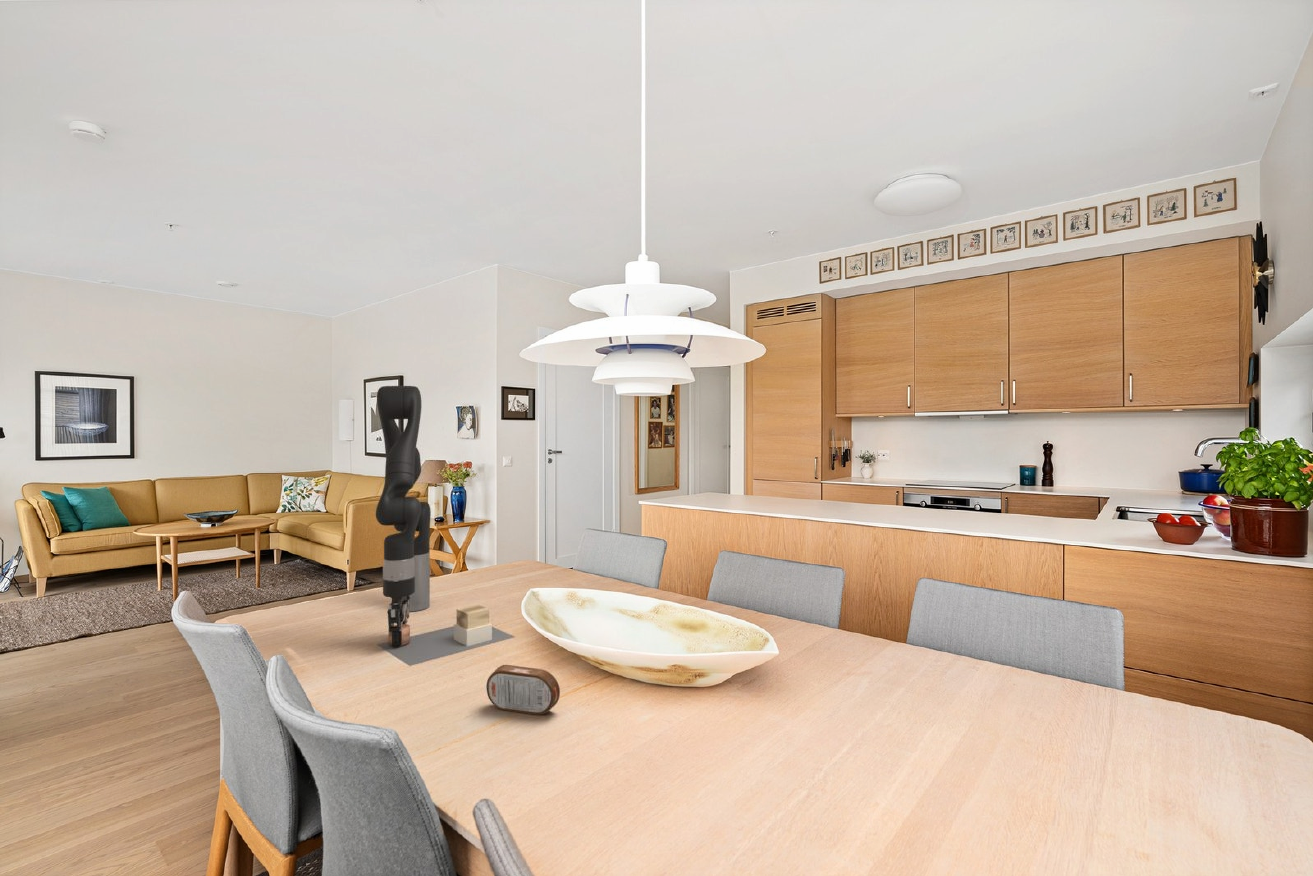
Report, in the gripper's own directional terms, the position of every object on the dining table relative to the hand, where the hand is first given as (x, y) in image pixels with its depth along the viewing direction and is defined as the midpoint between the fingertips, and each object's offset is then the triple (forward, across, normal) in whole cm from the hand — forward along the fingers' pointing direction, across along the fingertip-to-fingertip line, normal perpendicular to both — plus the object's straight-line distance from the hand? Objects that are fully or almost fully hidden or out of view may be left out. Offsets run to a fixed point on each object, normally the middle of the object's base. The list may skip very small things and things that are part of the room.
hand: (399, 642), depth 153 cm
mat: (+2, 0, +12) cm, 12 cm away
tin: (+2, +42, +32) cm, 52 cm away
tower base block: (+1, 0, +18) cm, 18 cm away
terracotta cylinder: (0, 0, 0) cm, 0 cm away
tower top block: (-3, 0, +18) cm, 18 cm away
